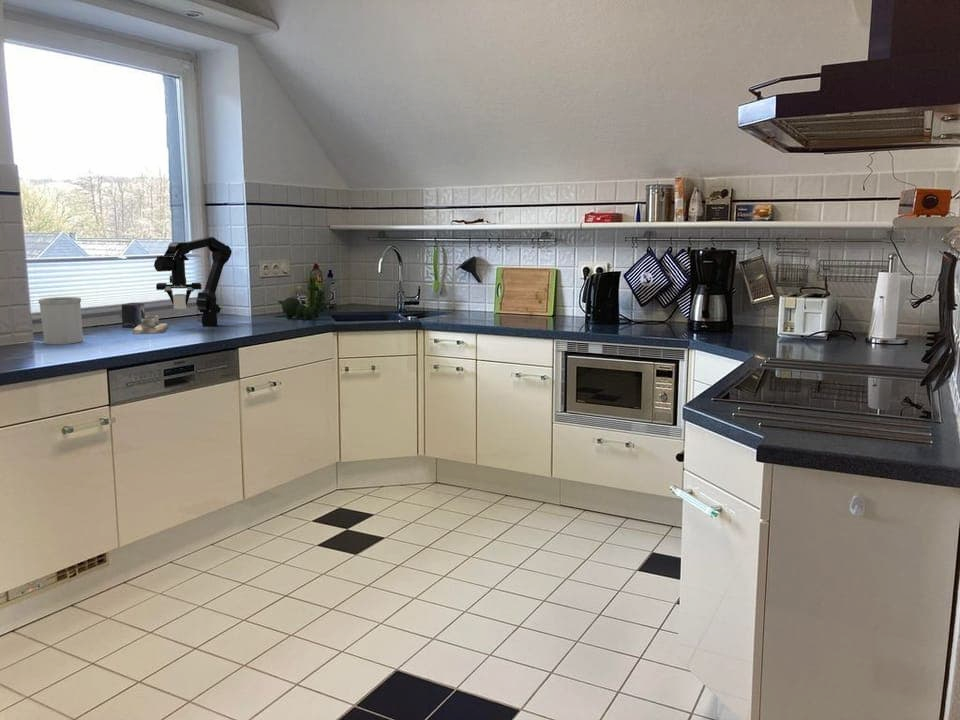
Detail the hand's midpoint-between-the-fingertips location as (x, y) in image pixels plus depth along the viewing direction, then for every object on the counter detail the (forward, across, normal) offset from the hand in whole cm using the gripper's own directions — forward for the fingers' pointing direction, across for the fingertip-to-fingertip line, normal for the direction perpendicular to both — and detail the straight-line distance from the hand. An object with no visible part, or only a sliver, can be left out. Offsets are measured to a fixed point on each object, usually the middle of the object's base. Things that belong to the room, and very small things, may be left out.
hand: (180, 305), depth 347 cm
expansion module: (+1, 0, 0) cm, 1 cm away
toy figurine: (+11, -55, -29) cm, 63 cm away
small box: (+11, +22, -17) cm, 30 cm away
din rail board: (+11, +13, 0) cm, 17 cm away
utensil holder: (+11, +42, +31) cm, 53 cm away
